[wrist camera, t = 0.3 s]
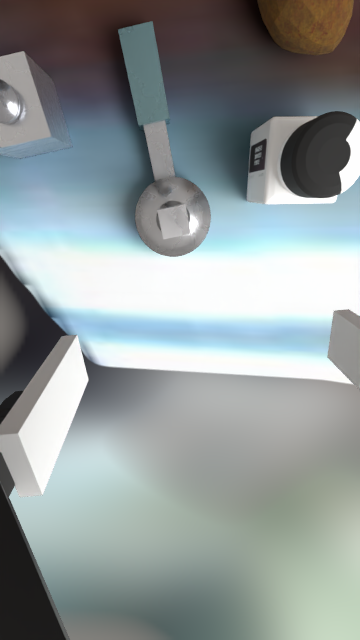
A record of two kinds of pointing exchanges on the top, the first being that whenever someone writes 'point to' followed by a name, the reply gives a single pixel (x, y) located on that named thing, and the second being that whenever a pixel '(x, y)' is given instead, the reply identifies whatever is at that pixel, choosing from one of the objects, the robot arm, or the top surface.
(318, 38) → the potato
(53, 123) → the cube with chrome knob
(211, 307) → the top surface
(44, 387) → the robot arm
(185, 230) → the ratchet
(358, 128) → the container
